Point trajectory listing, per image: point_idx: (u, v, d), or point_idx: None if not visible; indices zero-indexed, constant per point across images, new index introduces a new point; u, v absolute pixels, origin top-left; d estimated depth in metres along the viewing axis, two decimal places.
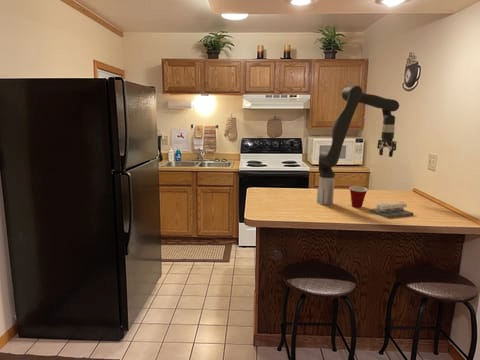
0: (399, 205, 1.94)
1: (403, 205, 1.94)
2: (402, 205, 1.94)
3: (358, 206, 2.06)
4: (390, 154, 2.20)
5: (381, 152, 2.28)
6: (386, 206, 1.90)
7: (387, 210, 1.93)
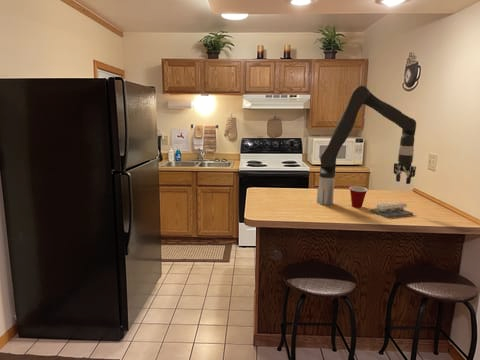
0: (399, 205, 1.94)
1: (403, 205, 1.94)
2: (402, 205, 1.94)
3: (358, 206, 2.06)
4: (408, 181, 1.90)
5: (398, 178, 1.97)
6: (386, 206, 1.90)
7: (387, 210, 1.93)
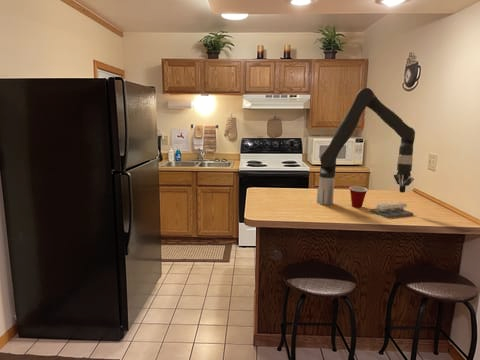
0: (399, 205, 1.94)
1: (403, 205, 1.94)
2: (402, 205, 1.94)
3: (358, 206, 2.06)
4: (402, 189, 1.94)
5: None
6: (386, 206, 1.90)
7: (387, 210, 1.93)
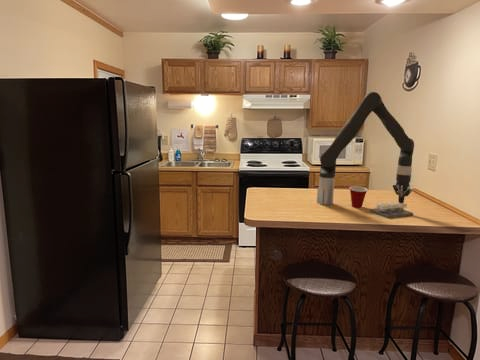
0: (399, 205, 1.94)
1: (403, 205, 1.94)
2: (402, 205, 1.94)
3: (358, 206, 2.06)
4: (401, 200, 1.95)
5: None
6: (386, 206, 1.90)
7: (387, 210, 1.93)
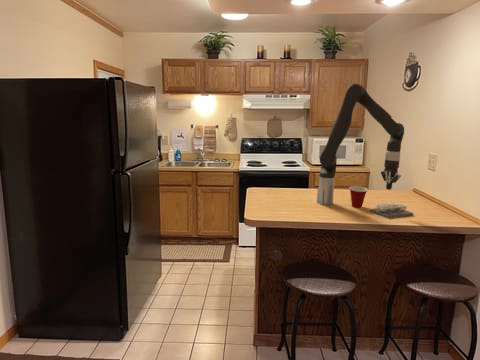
0: None
1: (403, 207, 1.95)
2: (402, 207, 1.94)
3: (358, 206, 2.06)
4: (389, 186, 1.91)
5: None
6: (386, 206, 1.90)
7: (387, 210, 1.93)
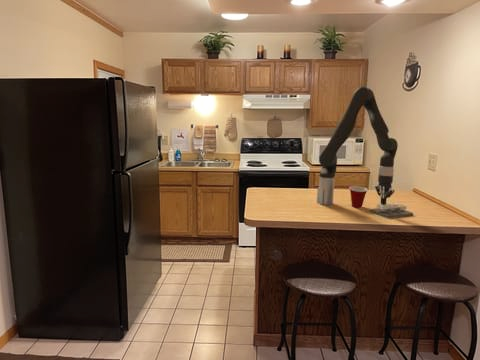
0: None
1: (403, 207, 1.95)
2: (402, 207, 1.94)
3: (358, 206, 2.06)
4: (383, 201, 1.90)
5: None
6: (386, 206, 1.90)
7: (387, 210, 1.93)
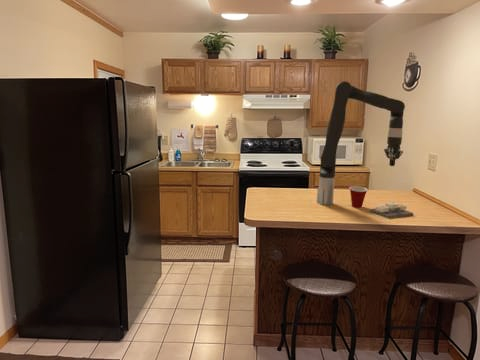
0: None
1: (403, 207, 1.95)
2: (402, 207, 1.94)
3: (358, 206, 2.06)
4: (392, 163, 1.96)
5: None
6: (386, 208, 1.90)
7: None
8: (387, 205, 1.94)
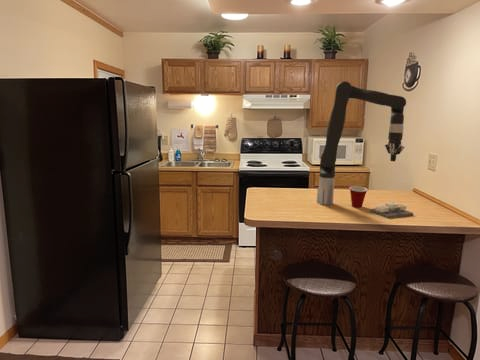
0: None
1: (403, 207, 1.95)
2: (402, 207, 1.94)
3: (358, 206, 2.06)
4: (393, 158, 1.99)
5: None
6: (386, 208, 1.90)
7: None
8: (387, 205, 1.94)
